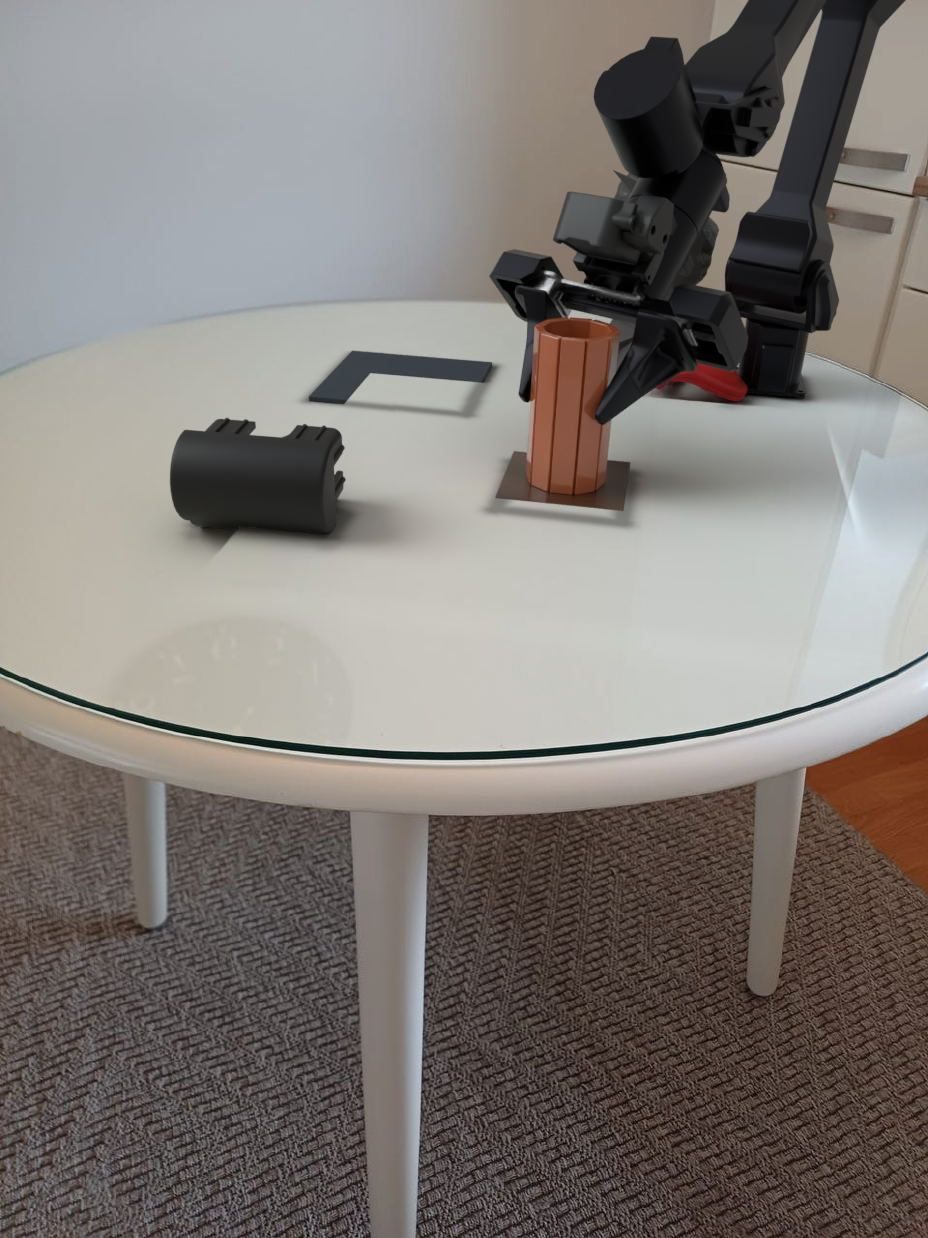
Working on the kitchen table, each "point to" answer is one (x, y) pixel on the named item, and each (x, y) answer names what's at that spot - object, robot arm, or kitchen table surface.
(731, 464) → the kitchen table surface
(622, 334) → the grey angular chunk
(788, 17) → the robot arm
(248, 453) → the end cap
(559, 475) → the orange tube
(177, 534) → the kitchen table surface
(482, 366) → the flat corner bracket
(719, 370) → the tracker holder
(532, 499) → the ring holder
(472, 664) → the kitchen table surface
